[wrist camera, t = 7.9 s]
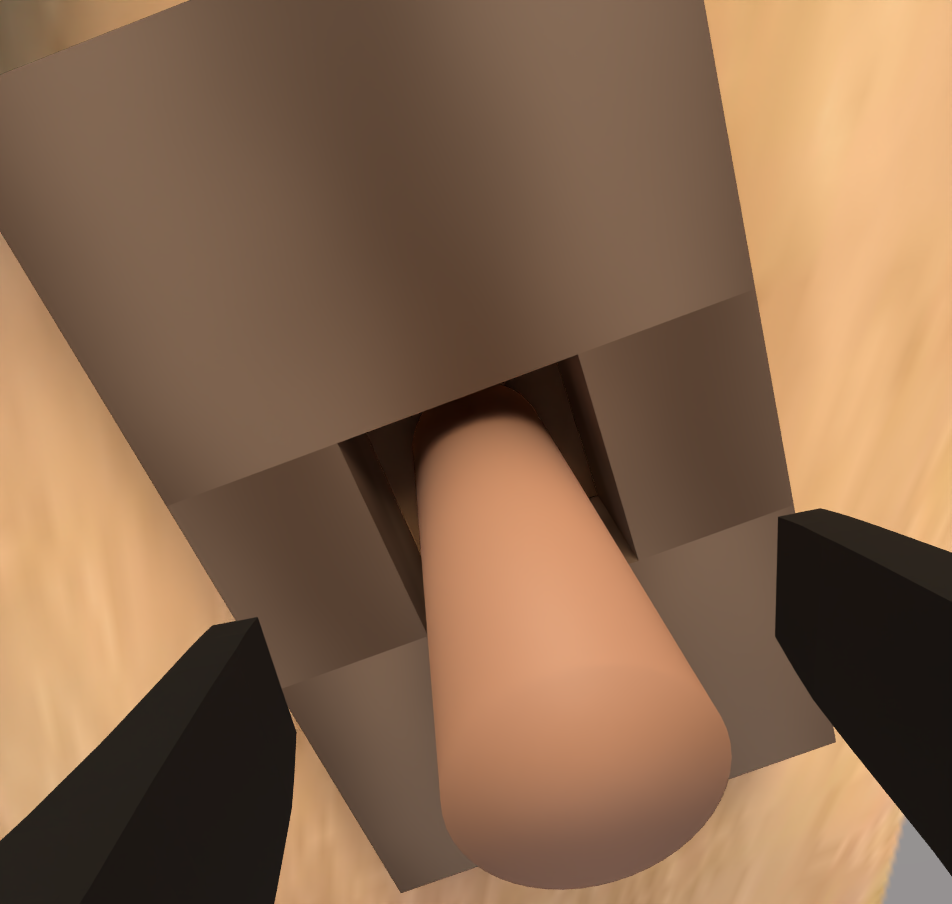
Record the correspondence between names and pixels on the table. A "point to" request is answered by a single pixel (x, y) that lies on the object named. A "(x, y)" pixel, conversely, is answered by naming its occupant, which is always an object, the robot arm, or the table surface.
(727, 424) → the hole block
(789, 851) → the table surface
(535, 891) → the table surface
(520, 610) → the peg
